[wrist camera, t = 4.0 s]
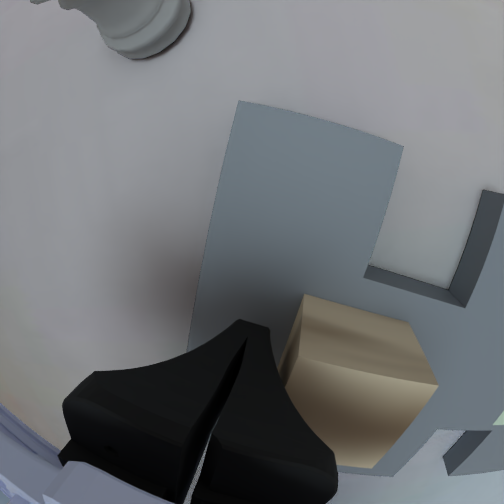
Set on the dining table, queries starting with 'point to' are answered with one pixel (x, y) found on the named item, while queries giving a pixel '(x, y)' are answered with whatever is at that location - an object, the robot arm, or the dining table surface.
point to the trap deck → (353, 270)
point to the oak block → (354, 378)
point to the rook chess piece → (134, 23)
